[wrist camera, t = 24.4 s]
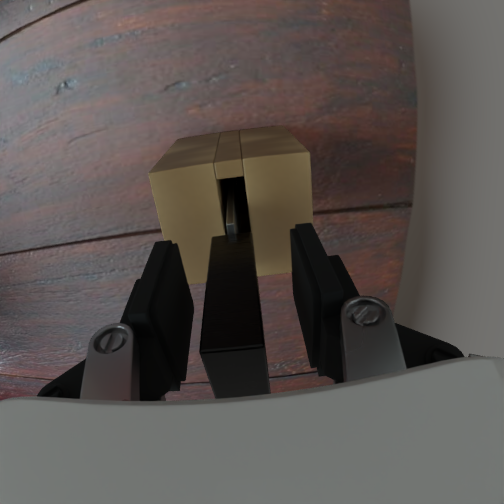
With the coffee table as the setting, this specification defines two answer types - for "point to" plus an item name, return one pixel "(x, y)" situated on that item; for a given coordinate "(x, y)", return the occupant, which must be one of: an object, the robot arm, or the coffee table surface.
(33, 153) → the coffee table surface
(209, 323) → the knife
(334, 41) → the coffee table surface
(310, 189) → the knife block
